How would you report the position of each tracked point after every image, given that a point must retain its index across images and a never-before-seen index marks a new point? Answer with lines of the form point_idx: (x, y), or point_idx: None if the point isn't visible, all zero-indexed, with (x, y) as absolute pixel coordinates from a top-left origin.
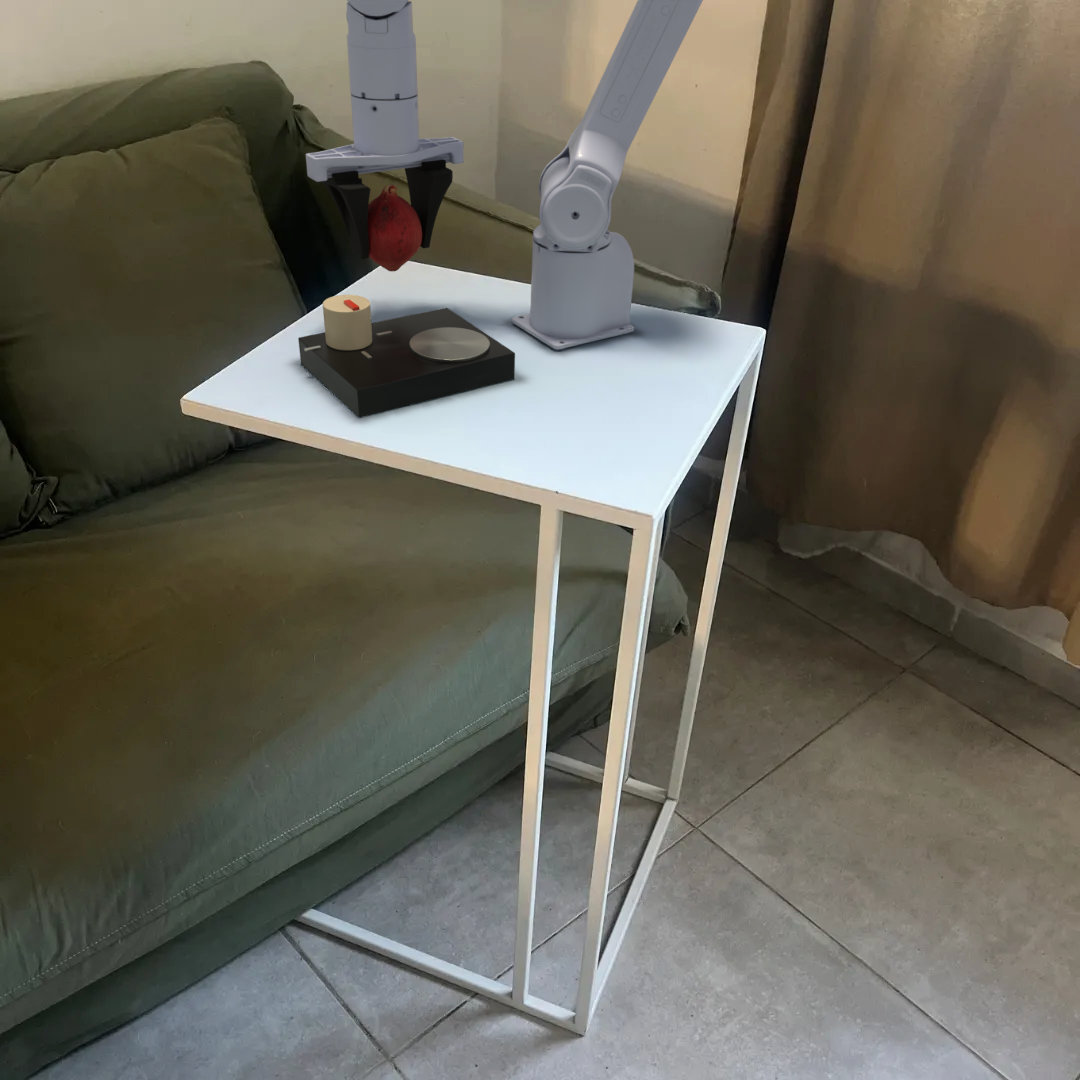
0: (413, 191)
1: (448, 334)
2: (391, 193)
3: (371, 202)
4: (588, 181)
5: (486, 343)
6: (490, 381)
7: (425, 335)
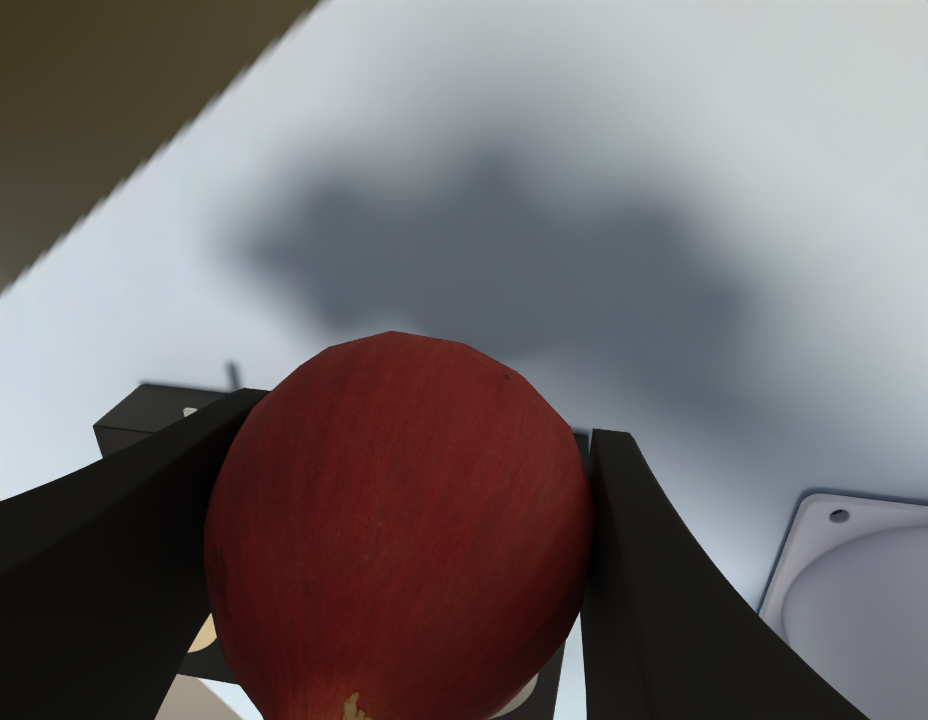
0: (619, 693)
1: None
2: None
3: (229, 621)
4: None
5: (511, 703)
6: None
7: None
